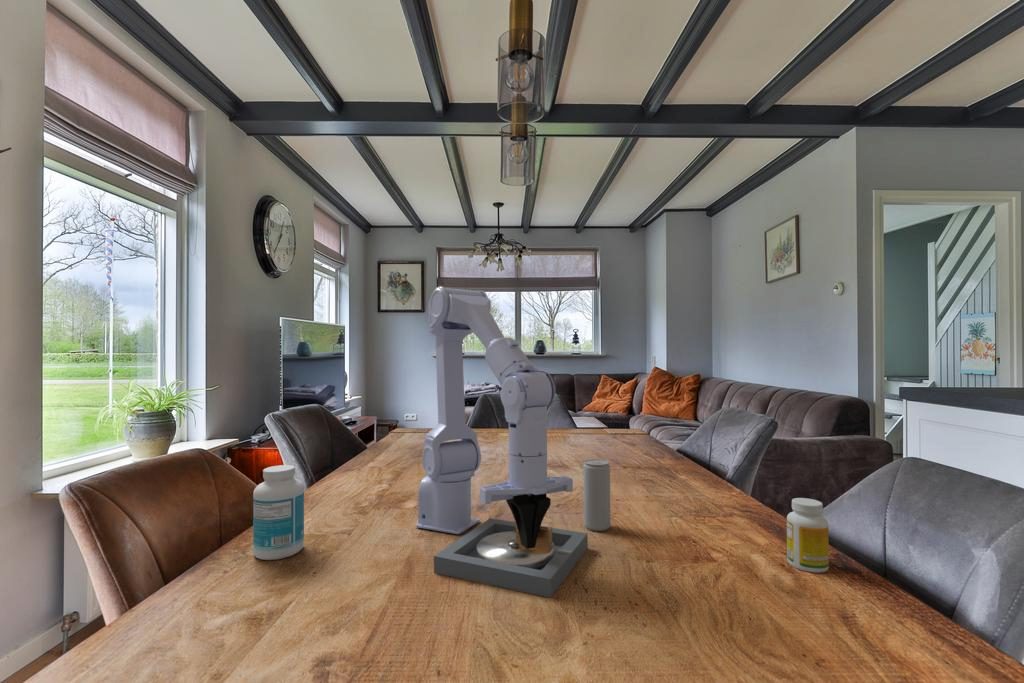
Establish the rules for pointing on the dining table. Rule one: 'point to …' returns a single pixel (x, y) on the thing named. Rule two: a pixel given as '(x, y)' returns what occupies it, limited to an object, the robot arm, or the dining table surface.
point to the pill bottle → (278, 514)
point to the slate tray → (539, 581)
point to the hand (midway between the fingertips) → (528, 545)
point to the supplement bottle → (807, 536)
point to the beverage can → (596, 494)
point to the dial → (517, 549)
